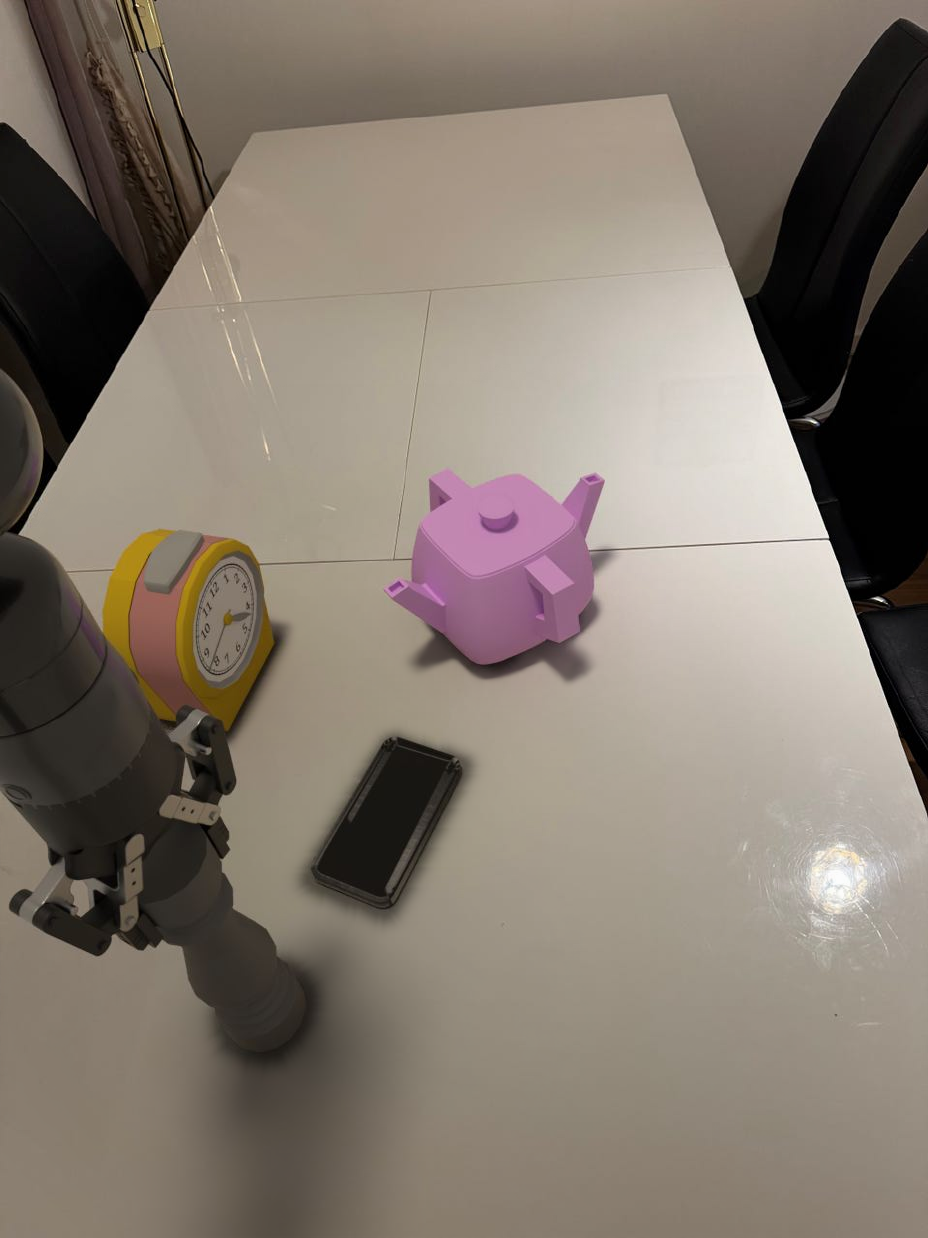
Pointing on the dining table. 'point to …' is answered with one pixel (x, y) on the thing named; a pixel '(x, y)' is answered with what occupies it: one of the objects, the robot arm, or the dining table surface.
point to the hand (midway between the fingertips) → (181, 891)
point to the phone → (387, 822)
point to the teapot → (501, 564)
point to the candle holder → (219, 941)
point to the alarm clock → (189, 620)
